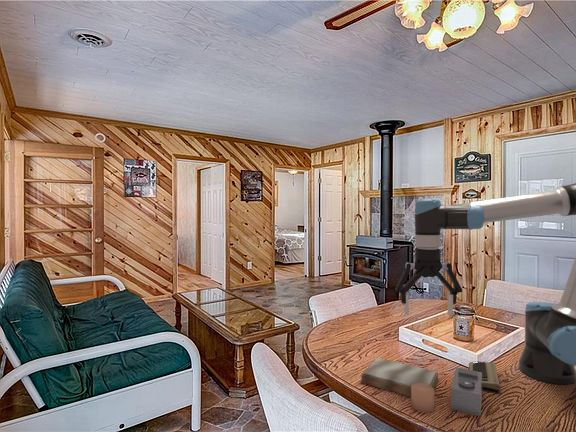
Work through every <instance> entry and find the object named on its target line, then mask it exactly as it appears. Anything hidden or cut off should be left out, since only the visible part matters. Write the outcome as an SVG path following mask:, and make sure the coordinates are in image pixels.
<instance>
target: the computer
mask: <svg viewBox="0 0 576 432" xmlns="http://www.w3.org/2000/svg"><path fill="white" fill-rule="evenodd" d="M469 362H470V361H469ZM473 362H474V361H473ZM473 362H470V363H468V370H473V371H478V372H482V391H484V392H485V391H486V392H490V393H496V394H502V391H501V390H502V389H501V385H500V380H499V374H498V372H497V371H498V370H497V366H496V364H495V363H494V362H488V361H477V362H478V363H473Z"/></svg>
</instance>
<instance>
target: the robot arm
mask: <svg viewBox="0 0 576 432" xmlns="http://www.w3.org/2000/svg"><path fill="white" fill-rule="evenodd" d="M414 208H415V209H414V231H415V233H414V236H415V239H414V243H415V244H414V246H415V247H416V248H415V250H414V251H415V253H414V254H415V255H414V256H415V257H414V258H415V261H414V263H410V262H407V261H406V262H405V263H404V269H403V271H402V273H401V276H400V278H399V279H398V281H397V283H396V285H395V287H394V290H395V291H396V292H397V293H400V302H401V303H402V305H403V310H404V311H403V312H404V314H405V315H406V316H409V315H410V313H409V312H410V311H409V310H410V308H409V304H410V301H409V296H410V295H409V293H408V291H409V290H410V289H411V288H412V287H413V286H414V285H415V283H416V282H417V281H418V280H419V279H421V277H422V278H435V277H436V278H438V280H439V281H440V282H441V283H442V285H444V287H445V288H446V289H447V290H448V291H449V292H447V295H446V296H447V300H446V301H447V314H448V315H450V316H454V305H456V304H457V295H458V294H459V293H463V288H462V287H461V284H460V282H459V281H458V279H457V277H456V275H455V273H454V271H453V268H452V266H453V265H452V263H450V262H448V261H446V262H445V263H442V262H441V261H442V260H441V259H442V258H441V257H442V256H441V255H442V254H441V249H440V248H441V238H442V237H441V230H471V231H472V230H481V229H482V228H483V227H484V224H488V223H496V222H500V221H501V222H504V221H510V220H511V221H512V220H518V219H528V218H536V217H541V216H551V215H560V216H562V217H566V216H567V217H569V216H576V183H572V184H566V185H561V186H556V188H555V189H553V190H549V191H548V190H547V191H540V192H533V193H528V194H520V195H514V196H507V197H500V198H493V199H492V198H491V199H486V200H481V201H479V200H478V201H473V202H467V203H466V202H465V203H460V204H459V203H458V204H450V205H443V204H441V200H440V199H418V200H416V201H415V206H414ZM413 269H415V270H416V271H415V272H414V273H413V274H412V276H411V277H410V278H409V279H408V280H407V278H408V277H409V275H410V273H411V271H412V270H413ZM442 269H444V270H445V271H446V274H447V276H448V277H449V279H450V280H451V283H452V285H453V286H452V285H451V284H450V282H449V281H448V280H447V279H446V278H445V277H444V276H443V275H442V273H441V272H440V271H441V270H442ZM406 280H407V282H406ZM561 295H562V296H561V298H560V302H559V303H555V302H546V301H545V302H544V301H531V302H528V303H526V305H525V310H524V313H525V316H524V317H525V318H524V319H525V320H524V321H525V324H524V326H525V327H524V329H525V331H524V333H525V337H524V338H525V339H524V340H525V342H524V343H525V344H524V345H525V346H524V348H523V350H522V352H521V355H520V357H519V359H518V369H519V370H520V371H521V372H522V373H523V374H524V375H527V376H529V377H531V378H533V379H536V380H538V381H542V382H545V383H551V384H555V385H571V384H574V383H576V368H575V367H576V256H575V257H574V260H573V264H572V265H571V269H570V271H569V275H568V277H567V281H566V283H565V286H564V290H563V293H562V294H561Z"/></svg>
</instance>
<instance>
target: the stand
mask: <svg viewBox="0 0 576 432" xmlns="http://www.w3.org/2000/svg"><path fill="white" fill-rule="evenodd" d="M438 381H439V372H437V371H435V370H431V369H427V368H423V367H418V366H414V365H410V364H406V363H401V362H398V361H393V360H389V359H385V358H380V357H376V358H375V359H374V360H373V361H372V363H370V365H369V366H368V367H367V368H366V369H365V370H364V371H363V373H362V374H361V381H360V382H361V384H365V385H369V386H372V387H375V388H379V389H383V390H385V391H389V392H393V393H396V394H400V395H404V396H407V397H410V398H411V386H412V384H415V383H424V384H427V385H430V386H431V387H433V389H434V390H435V388H436V386H437V384H438Z"/></svg>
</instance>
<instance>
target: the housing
mask: <svg viewBox="0 0 576 432" xmlns="http://www.w3.org/2000/svg"><path fill="white" fill-rule="evenodd" d="M454 370H455V371H454V374H453V379H452V382H451V383H452V384H451V386H450V387H451V389H450V391H451V392H450V393H451V394H450V409H451V410H454V411H458V412H462V413H466V414H470V415H474V416H477V417H482V416H481V414H482V399H483V398H482V396H483V390H482V372H478V371H473V370H469V368H468V369H467V368H462V367H458V366H455V369H454Z"/></svg>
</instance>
